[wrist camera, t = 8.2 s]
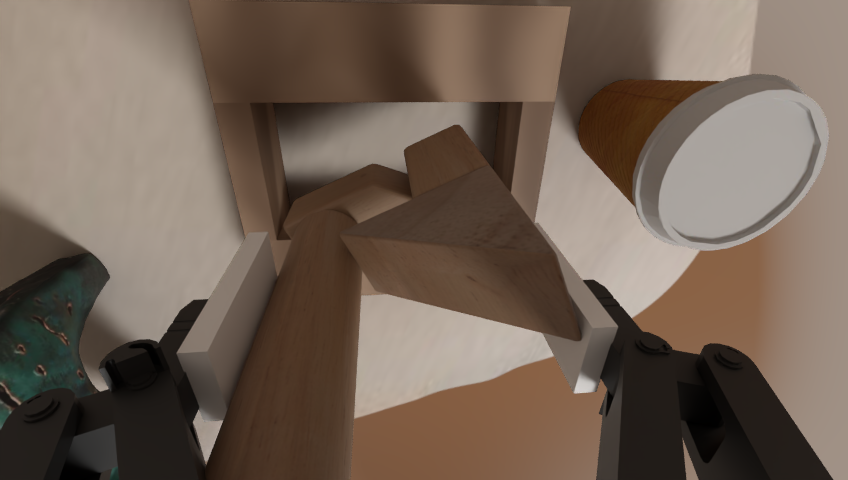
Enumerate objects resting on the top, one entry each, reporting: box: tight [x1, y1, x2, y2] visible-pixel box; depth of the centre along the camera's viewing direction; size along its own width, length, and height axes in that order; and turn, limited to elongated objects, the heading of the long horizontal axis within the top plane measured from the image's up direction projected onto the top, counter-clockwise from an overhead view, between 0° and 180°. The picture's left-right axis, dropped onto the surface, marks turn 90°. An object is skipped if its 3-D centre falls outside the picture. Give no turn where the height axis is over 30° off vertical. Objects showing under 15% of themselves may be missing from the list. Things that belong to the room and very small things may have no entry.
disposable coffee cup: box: [578, 74, 829, 250], centre depth 25 cm, size 10×10×12 cm
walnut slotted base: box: [189, 0, 571, 295], centre depth 28 cm, size 20×19×5 cm
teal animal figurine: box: [0, 254, 119, 480], centre depth 27 cm, size 20×6×20 cm, turn 11°
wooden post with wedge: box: [205, 125, 582, 480], centre depth 16 cm, size 4×11×18 cm, turn 114°
